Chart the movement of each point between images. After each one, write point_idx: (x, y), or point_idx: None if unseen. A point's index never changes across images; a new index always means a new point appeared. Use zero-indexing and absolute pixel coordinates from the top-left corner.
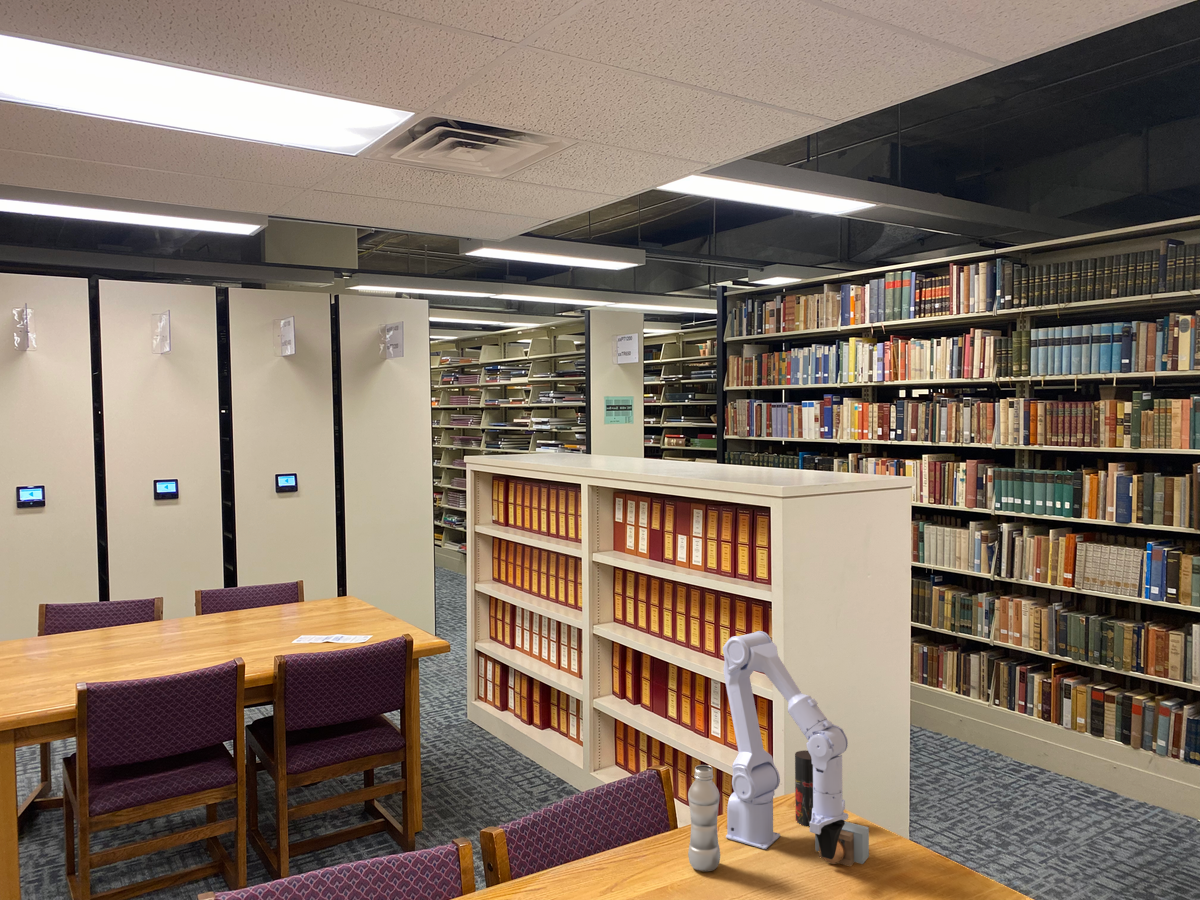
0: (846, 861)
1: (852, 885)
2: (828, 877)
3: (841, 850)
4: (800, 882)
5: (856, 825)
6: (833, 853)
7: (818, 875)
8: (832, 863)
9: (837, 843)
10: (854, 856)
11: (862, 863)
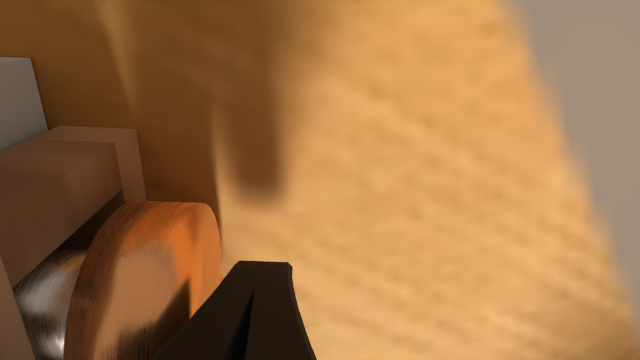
0: (127, 169)
1: (422, 27)
2: (386, 207)
3: (175, 244)
4: (526, 314)
5: None
6: (283, 285)
7: (392, 262)
8: (218, 240)
9: (152, 323)
10: (16, 136)
11: (27, 60)
